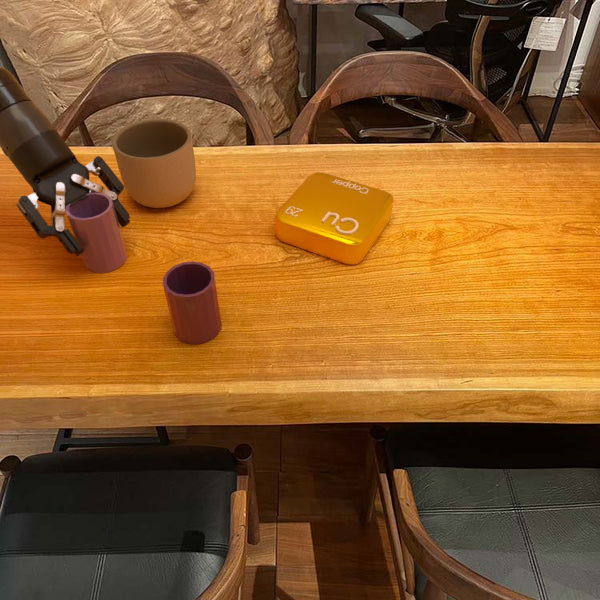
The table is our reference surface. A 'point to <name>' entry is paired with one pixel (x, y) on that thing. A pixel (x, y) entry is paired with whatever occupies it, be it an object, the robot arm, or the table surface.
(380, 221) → the element tile
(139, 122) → the planter
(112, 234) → the lilac cup
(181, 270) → the plum cup
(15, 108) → the robot arm
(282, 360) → the table surface
